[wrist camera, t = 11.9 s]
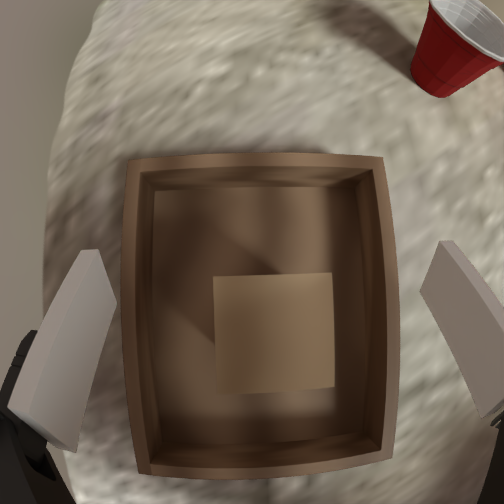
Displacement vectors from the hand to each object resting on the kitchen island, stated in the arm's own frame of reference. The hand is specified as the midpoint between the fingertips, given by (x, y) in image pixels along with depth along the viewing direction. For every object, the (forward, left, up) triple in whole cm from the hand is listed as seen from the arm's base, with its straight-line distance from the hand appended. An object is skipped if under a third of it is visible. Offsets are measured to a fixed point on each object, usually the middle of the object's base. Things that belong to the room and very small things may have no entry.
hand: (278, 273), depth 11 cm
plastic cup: (-21, -23, -13) cm, 33 cm away
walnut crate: (0, +2, -13) cm, 13 cm away
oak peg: (0, +2, -12) cm, 12 cm away
